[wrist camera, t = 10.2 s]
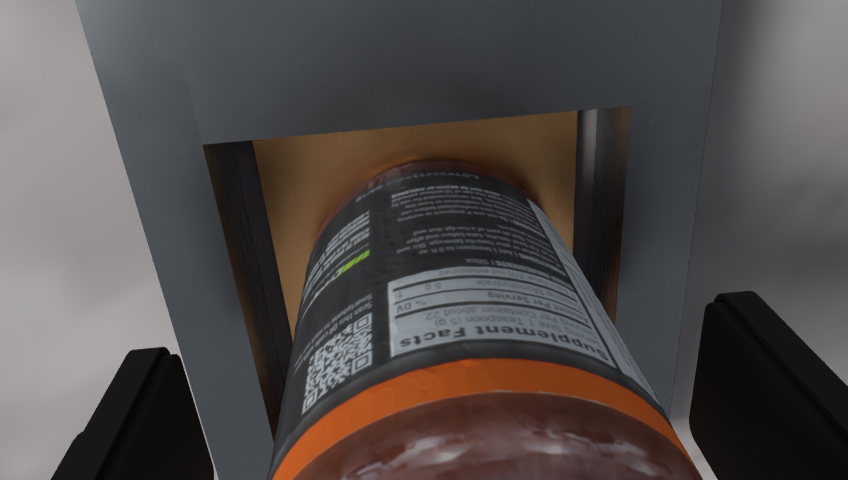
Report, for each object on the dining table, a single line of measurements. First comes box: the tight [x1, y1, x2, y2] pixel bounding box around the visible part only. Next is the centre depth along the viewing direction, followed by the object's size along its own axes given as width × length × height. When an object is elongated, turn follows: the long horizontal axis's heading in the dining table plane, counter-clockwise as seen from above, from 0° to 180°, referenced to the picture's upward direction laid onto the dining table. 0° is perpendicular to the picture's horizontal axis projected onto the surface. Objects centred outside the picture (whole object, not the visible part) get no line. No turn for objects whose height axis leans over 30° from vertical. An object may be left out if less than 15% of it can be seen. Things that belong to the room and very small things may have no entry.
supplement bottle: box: [267, 160, 703, 480], centre depth 11 cm, size 6×6×11 cm
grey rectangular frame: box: [75, 0, 723, 480], centre depth 12 cm, size 11×24×2 cm, turn 4°
